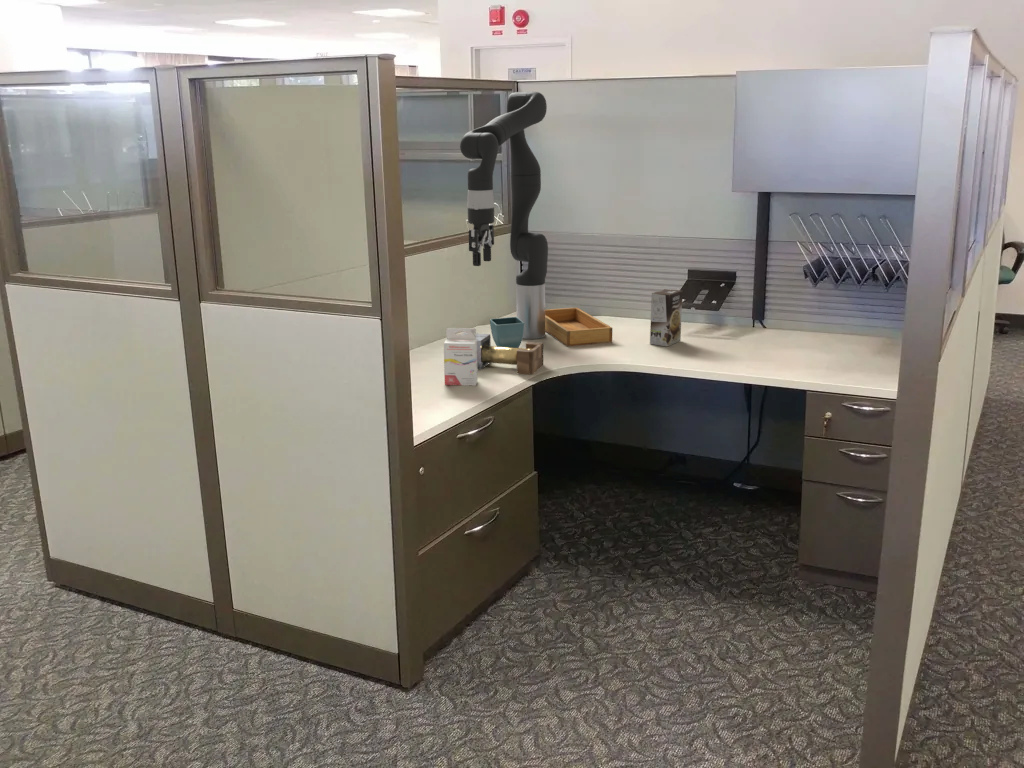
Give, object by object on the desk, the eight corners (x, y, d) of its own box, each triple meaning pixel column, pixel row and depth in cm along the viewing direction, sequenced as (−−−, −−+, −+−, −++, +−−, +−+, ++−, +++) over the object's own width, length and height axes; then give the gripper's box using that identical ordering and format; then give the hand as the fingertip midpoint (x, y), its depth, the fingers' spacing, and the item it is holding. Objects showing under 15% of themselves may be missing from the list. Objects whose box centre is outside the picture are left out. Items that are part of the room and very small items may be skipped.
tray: (612, 343, 287) (612, 326, 285) (566, 347, 282) (567, 329, 281) (577, 323, 315) (577, 307, 313) (535, 326, 311) (535, 310, 309)
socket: (528, 364, 263) (528, 342, 261) (543, 365, 262) (543, 343, 260) (516, 373, 254) (516, 350, 252) (532, 374, 252) (532, 352, 250)
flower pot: (496, 353, 275) (496, 324, 272) (489, 347, 283) (489, 318, 280) (524, 351, 277) (524, 322, 275) (517, 344, 285) (516, 316, 283)
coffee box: (667, 347, 280) (669, 295, 275) (649, 344, 284) (650, 292, 279) (681, 341, 287) (683, 290, 282) (663, 338, 291) (664, 288, 286)
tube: (476, 364, 260) (476, 347, 258) (483, 360, 264) (482, 342, 263) (530, 368, 255) (530, 350, 253) (535, 364, 259) (535, 346, 258)
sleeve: (465, 360, 268) (464, 332, 265) (490, 362, 265) (490, 334, 263) (455, 367, 261) (454, 338, 258) (481, 369, 258) (480, 340, 256)
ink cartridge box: (444, 385, 243) (442, 331, 239) (446, 380, 248) (444, 327, 244) (476, 385, 243) (474, 331, 239) (478, 380, 248) (476, 327, 243)
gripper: (477, 203, 265) (478, 259, 270) (459, 208, 252) (460, 267, 257) (501, 204, 263) (502, 260, 267) (484, 209, 250) (485, 268, 254)
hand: (482, 263), depth 262 cm, fingers open, 8 cm apart
